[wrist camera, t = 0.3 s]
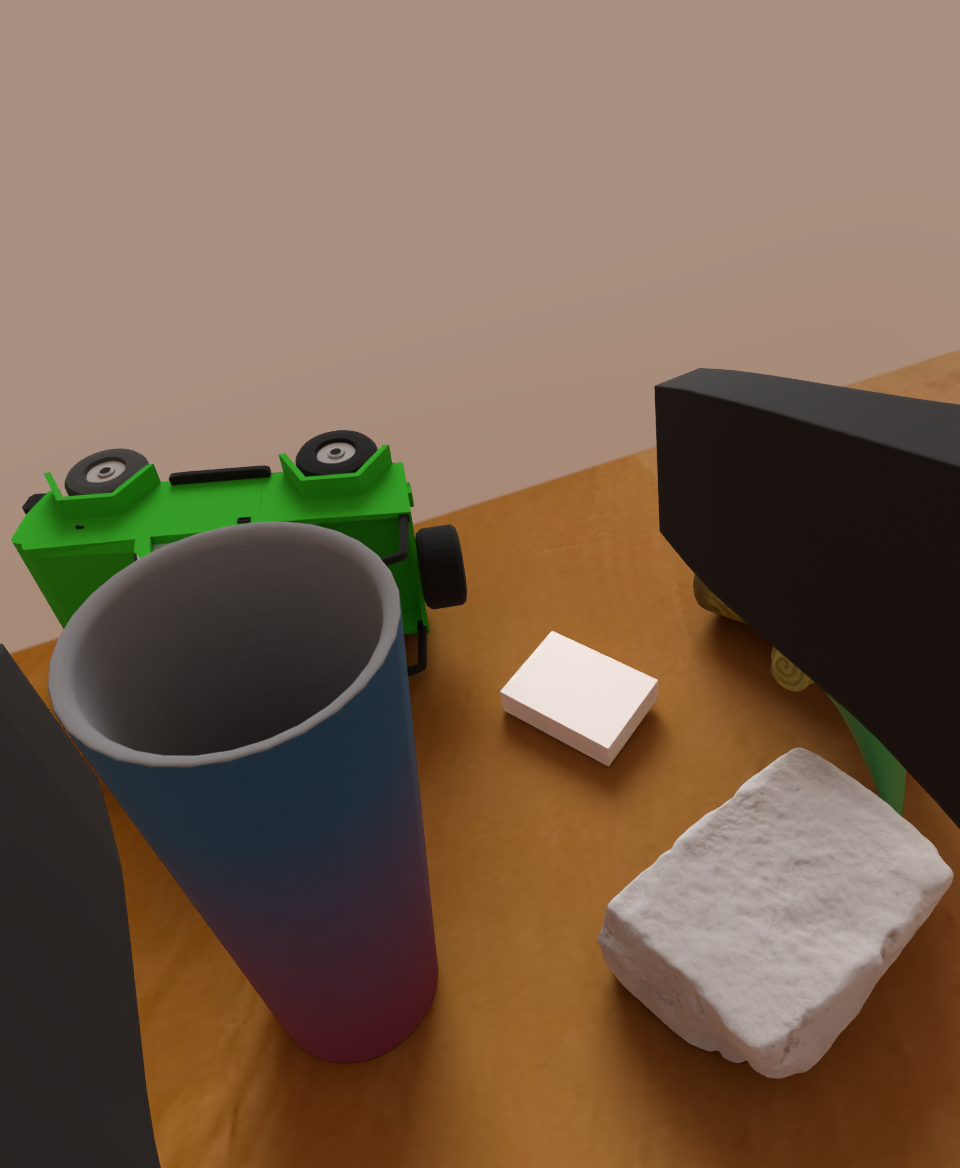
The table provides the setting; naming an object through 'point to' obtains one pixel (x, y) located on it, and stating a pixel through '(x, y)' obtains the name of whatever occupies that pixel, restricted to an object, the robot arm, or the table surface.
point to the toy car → (237, 520)
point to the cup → (270, 765)
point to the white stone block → (775, 915)
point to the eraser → (580, 697)
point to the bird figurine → (876, 756)
